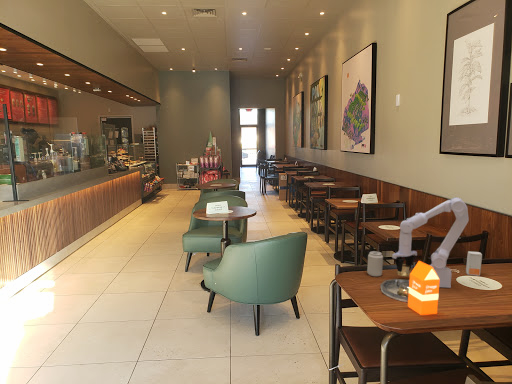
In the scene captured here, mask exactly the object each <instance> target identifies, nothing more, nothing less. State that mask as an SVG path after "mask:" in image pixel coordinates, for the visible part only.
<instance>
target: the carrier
mask: <svg viewBox="0 0 512 384" xmlns="http://www.w3.org/2000/svg"><path fill="white" fill-rule="evenodd" d="M409 281H410V279H408V278H407V279H404V278H393V279H385V280H383V282H381V283H380V292H382V293H383V295H384V296H386V297H388V298H390V299H393V300H396V301H399V302H404V303H408V295H409Z"/></svg>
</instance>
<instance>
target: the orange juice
mask: <svg viewBox="0 0 512 384" xmlns="http://www.w3.org/2000/svg"><path fill="white" fill-rule="evenodd" d="M409 273H410V275H409V280H410V281H409V295H408V302H407V307H408V308H409V309H411V310H412V311H414V312H416V313H417V314H419V315H420V316H427V315H436V314H438V304H439V295H440V293H439V290H440V287H439V281H440V279H439V277H438V276H437V274H436V272H435V270H434V269H433V267H432V266H430V264H427V263H425V262H423V261H421V260H418V261H417V263H416V264H415V266H414V268H413V269H412V270H411V271H410V272H409Z"/></svg>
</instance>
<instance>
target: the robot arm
mask: <svg viewBox="0 0 512 384" xmlns="http://www.w3.org/2000/svg"><path fill="white" fill-rule="evenodd" d="M468 208H469V207H468V206H467V204H466V202H465V201H464V200H463V199H462V198H460V197H457V196H455V197H452V198H451V199H447V200H446V201H444V202H443V201H442V203H440V204H438V205H436V206H435V207H433V208H431V209H430V210H428V211H426V212H416V213H415V215H412V216H411V217H408V218H406V220H405V219H404V220H402V221H401V223H400V225H399V229H400V231H399V238H398V239H399V241H398V251H397V252H395V253H391V258H392V259H393V260H394V262H395V265H396V269H397V270H396V271H399V272H402V265H403V264H404V262H405V264H407V265H409V271H411V269H412V266H413V263H414V262H415V260H416V256H418V252H417V251H416V250H412V241H413V240H412V239H413V235H412V232H413V230H415V229H417V228H419V227H422V226H423V225H425V224H427V223H428V220H429V219H431V218H433V217H435V216H437V215H440V214H441V213H444V212H446V213H451V211H452V212H453V214H454V216H455V221H454V222H453V224H452V225H451V227H450V229H449V231H448V232H447V234H446V236H445V237H444V239H443V241H442V242H441V244H440V245H439V247H438V248H437V249H436V250H435V251H434V252H433V253H432V254H431V255H430V260H431V264H429V266H432V267H433V269H434V270H435V272H436V274H437V276H438V277H439V279H440V281H439V288H446V289H451V288H452V286H451V285H452V284H451V283H452V270H451V268H450V267H447V260H448V258H449V255H450V253H451V251H452V249H453V248H454V246H455V244H456V242H457V241H458V239H459V238H460V236H461V234H462V233H463V231H464V230H465V228H466V226H467V225H468V223H469V220H470V219H469V212H468V210H469V209H468Z"/></svg>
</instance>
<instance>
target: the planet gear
mask: <svg viewBox="0 0 512 384" xmlns="http://www.w3.org/2000/svg"><path fill="white" fill-rule="evenodd" d="M410 273H411V272H410V270H409V265H407V264H406V263H403V265H402V272H399V271H398V270H396V274H397V275H398V276H402V277H410Z"/></svg>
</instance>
